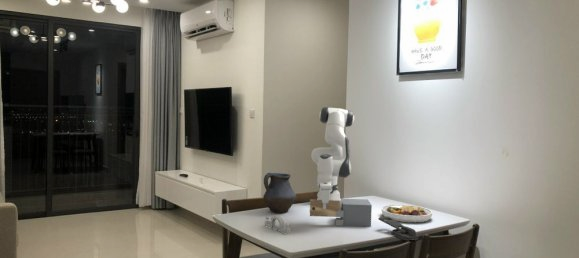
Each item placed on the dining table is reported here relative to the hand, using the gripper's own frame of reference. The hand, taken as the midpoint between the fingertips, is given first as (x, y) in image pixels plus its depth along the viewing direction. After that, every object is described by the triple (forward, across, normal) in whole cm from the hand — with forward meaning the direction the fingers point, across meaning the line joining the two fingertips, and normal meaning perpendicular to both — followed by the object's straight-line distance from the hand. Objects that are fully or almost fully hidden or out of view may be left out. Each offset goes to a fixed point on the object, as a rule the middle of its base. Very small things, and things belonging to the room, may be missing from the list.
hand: (324, 208), depth 259 cm
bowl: (+10, -24, +52) cm, 57 cm away
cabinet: (+9, -7, +17) cm, 20 cm away
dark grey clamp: (+10, +14, +39) cm, 42 cm away
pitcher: (+10, -28, -27) cm, 40 cm away
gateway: (+10, +15, -26) cm, 32 cm away
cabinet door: (+5, +1, +1) cm, 5 cm away
